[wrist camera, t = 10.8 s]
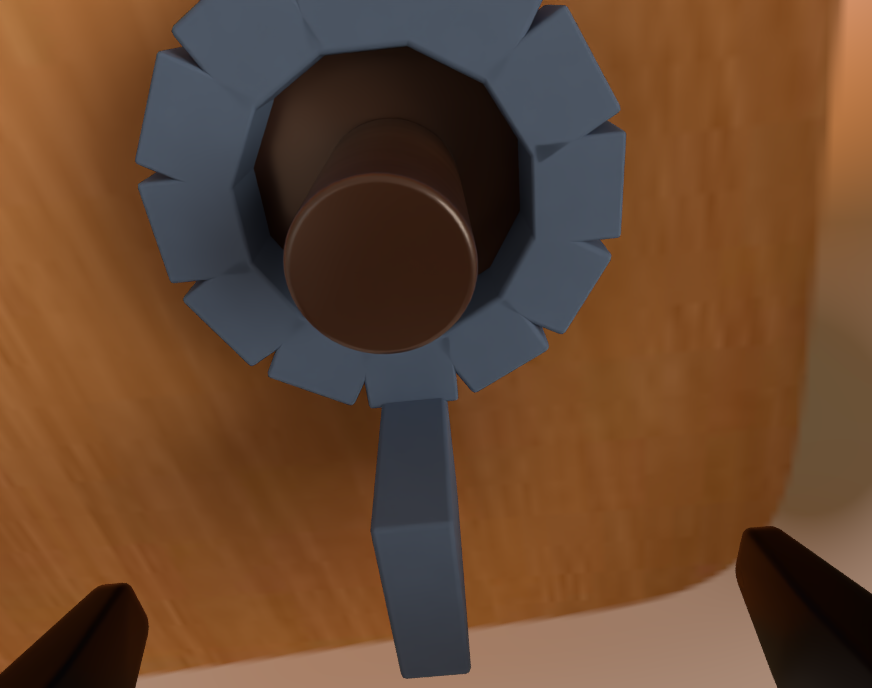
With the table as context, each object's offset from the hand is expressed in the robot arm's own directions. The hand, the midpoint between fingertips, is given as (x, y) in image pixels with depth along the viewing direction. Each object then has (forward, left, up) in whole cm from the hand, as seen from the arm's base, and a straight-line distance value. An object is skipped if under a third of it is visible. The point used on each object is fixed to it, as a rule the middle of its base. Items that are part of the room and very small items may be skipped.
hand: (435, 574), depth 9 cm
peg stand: (+5, -1, -4) cm, 6 cm away
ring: (+3, -1, -3) cm, 5 cm away
